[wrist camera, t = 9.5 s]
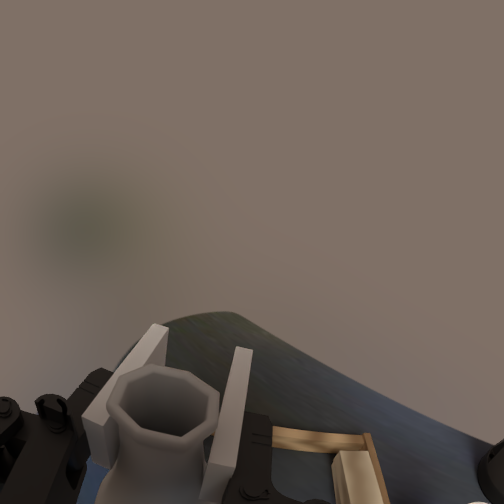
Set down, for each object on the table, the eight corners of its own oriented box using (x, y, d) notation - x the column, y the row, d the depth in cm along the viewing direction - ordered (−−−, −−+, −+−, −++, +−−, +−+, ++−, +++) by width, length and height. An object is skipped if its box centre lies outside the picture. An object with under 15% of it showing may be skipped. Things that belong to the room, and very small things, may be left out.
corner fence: (360, 446, 33) (369, 433, 32) (381, 538, 18) (396, 528, 17) (159, 411, 34) (160, 395, 33) (114, 505, 18) (111, 494, 17)
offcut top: (361, 459, 29) (368, 450, 29) (375, 513, 20) (384, 506, 20) (333, 459, 29) (339, 450, 29) (343, 516, 20) (351, 509, 20)
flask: (133, 449, 14) (132, 310, 11) (246, 497, 12) (306, 374, 10) (66, 524, 7) (-10, 396, 5) (203, 595, 6) (256, 560, 3)
